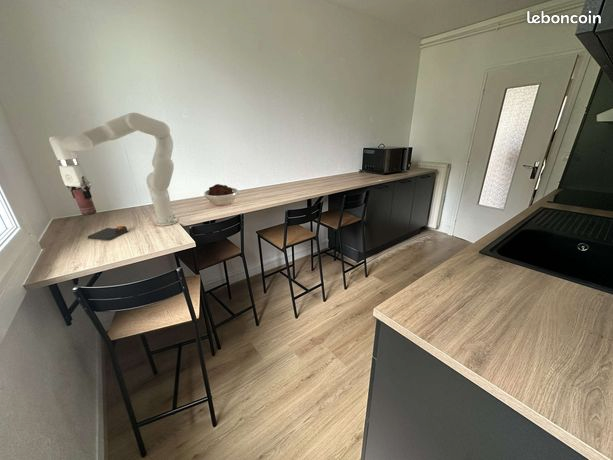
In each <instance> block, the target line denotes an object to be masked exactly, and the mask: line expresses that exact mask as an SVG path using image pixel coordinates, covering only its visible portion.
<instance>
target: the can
mask: <svg viewBox="0 0 613 460" xmlns="http://www.w3.org/2000/svg"><path fill="white" fill-rule="evenodd" d="M83 187H84V188H85V186H83ZM73 194H74V196H75V198H74V199H75V201H76V203H77V206H78V208H79V211H80V213H81V215H82V216H83V217H89V216H93V215H96V214H97V210H96V209H97V208H96V207H95V204H94V200H93V199H92V198H89V199H85V197H84V195H83V190H82V189H81V187H77V188H74V189H73Z"/></svg>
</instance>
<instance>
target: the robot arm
mask: <svg viewBox="0 0 613 460" xmlns="http://www.w3.org/2000/svg"><path fill="white" fill-rule="evenodd" d="M135 132H140V133H144V134H147V135H150V136H153V137H154V138H155V143H156V145H155V149H154V153H153V155H152V159H151V165H152V167H153V170H152V172H150V173H148V174H147V176H146V178H145V179H146V186H147V188H148V191H149V195H150V198H151V203H152V205H153V209H154V213H155V217H156V220H155V222H154V224H155V226H158V227H166V226H167V227H168V226H171V225H174V224H176V223H177V222H179V219H180V217H179V216H176V215H175V214H174V211H173V207H172V203H171V198H170V193H169V190H168V189H169V187H170V184H171V181H172V178H173V174H174V169H175V167H174V162H173V160H172V155H173V150H174V141H173V138H172V135H171V129H170V126H169V125H168V124H167V123H166V122H163V121H161V120H159V119H156V118H153V117H150V116H146V115H143V114H141V113H139V112H129V113H126V114H124V115H121V116H119V117H116V118H113V119H111V120H108V121H106V122H103V123H101V124H100V125H97V126H95V127H92V128H90V129H88V130H84V131H82V132H80V133H77V134H75V135H70V136H68V135H52V136H50V137H49V138H48V140H49V144H50V146H51V148H52V150H53V153H54V155H55V158H56V160H57V163H58V165H59V168H58V169H59V173H60V176H61V179H62V182H63V184H64V186H66V188H67V189H68V191H70V193H71V195H72V198H73V199H75V196H74V194H73V189H74V188H80V187H81V189H82V190H83V195H84V197H85V199H89V198H91V199H92V198H93V196H92V192H91V187H92V183H91V182H90V181H89V180H88V177H87V175H86V173H85V171H84V169H83V167H82V165H81V163H80V161H79V157H78V155H77V153H76V152H89V151H90V150H92V148H93V147H96V146H98V145H100V144H102V143H105V142H106V143H107V142H109V141H115V140H118V139H121V138H122V137H123V138H124V137H125V136H127V135H131V134H133V133H135ZM84 187H85V188H84Z"/></svg>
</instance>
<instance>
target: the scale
mask: <svg viewBox="0 0 613 460" xmlns="http://www.w3.org/2000/svg"><path fill="white" fill-rule="evenodd" d="M122 226H123V229H118V228H117V227H115V228H114V227H106V228H103V229H100V230H99V231H96V232H94V233H91V234H89V235H88V236H87V238H88V239H89V240H100V241H112V240H114V239H115V238H117V237H120V236H122V235H124V234H126V233H128V228H127V226H125V225H122Z"/></svg>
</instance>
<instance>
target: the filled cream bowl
mask: <svg viewBox="0 0 613 460" xmlns="http://www.w3.org/2000/svg"><path fill="white" fill-rule="evenodd" d="M238 194H239V190H238V189H237V188H234V187H231V186H228V185H227V184H220V183H216V184H214V185H212V186H209V187H208V189H207V190H206V191H204V193H203V195H204V197H205V199H207V200H208V201H209V203H210V204H212V205H215V206H225V205H226V206H227V205H230V204H232V203H234V202H235V200H236V198H237V197H238Z"/></svg>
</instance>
